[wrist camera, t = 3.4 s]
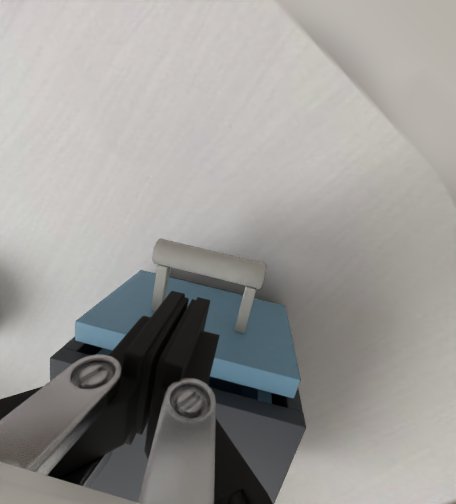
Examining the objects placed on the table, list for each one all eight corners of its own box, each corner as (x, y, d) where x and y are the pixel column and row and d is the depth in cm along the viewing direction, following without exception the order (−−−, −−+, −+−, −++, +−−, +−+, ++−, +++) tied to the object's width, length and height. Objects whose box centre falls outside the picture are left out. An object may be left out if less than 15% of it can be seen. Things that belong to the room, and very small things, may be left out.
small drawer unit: (136, 282, 21) (49, 357, 12) (285, 320, 20) (306, 427, 11) (122, 412, 25) (51, 536, 16) (244, 446, 24) (237, 593, 16)
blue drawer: (147, 215, 18) (77, 238, 11) (302, 252, 17) (331, 301, 11) (126, 400, 23) (70, 494, 16) (244, 433, 23) (238, 545, 16)
